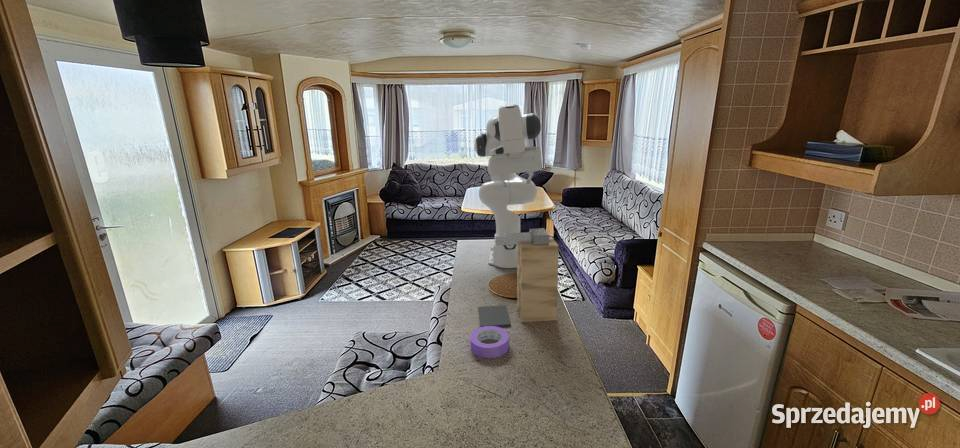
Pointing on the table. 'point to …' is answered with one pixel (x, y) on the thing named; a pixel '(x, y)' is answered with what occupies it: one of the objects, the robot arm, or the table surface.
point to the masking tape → (489, 349)
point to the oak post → (537, 281)
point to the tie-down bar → (523, 238)
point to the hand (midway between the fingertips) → (516, 185)
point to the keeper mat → (494, 316)
